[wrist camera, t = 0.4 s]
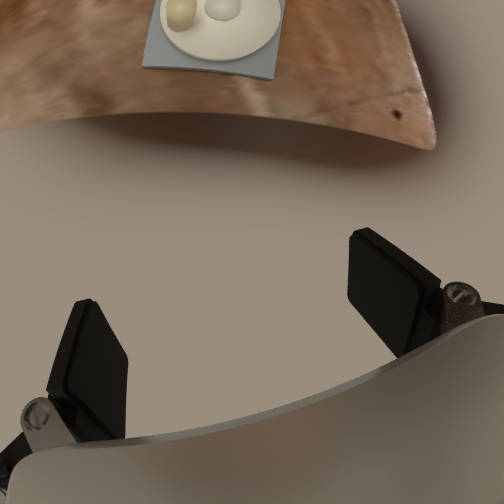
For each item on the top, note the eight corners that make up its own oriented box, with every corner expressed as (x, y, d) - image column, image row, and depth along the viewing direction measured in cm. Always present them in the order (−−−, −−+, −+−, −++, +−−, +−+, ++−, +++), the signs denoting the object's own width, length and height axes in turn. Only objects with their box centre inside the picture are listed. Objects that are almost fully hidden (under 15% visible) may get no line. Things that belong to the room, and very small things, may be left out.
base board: (167, -33, 21) (167, -38, 20) (284, -16, 25) (288, -20, 24) (143, 68, 28) (141, 66, 26) (269, 80, 32) (273, 79, 31)
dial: (173, -33, 20) (174, -60, 14) (281, -18, 24) (302, -38, 18) (151, 58, 26) (145, 43, 20) (267, 70, 30) (288, 60, 24)
